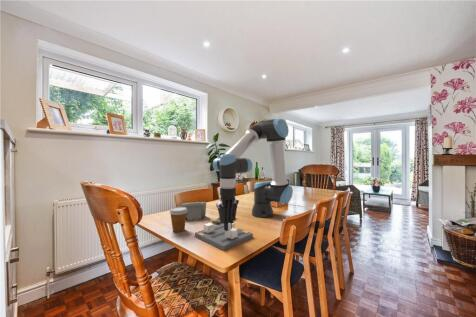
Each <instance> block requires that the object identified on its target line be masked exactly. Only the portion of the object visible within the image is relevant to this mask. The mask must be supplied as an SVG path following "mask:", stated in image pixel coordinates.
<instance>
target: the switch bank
mask: <svg viewBox="0 0 476 317" xmlns="http://www.w3.org/2000/svg"><path fill="white" fill-rule="evenodd" d="M234 228H235V229H237V230H238V237H236V238H233V239H230V238H227V237H225V231H224V224H220V225H217V224H216V225H214V231H212V232H210V233H207V232H204V229H202V230H199V231H196V232H194V238H197V239H199V240H201V241H202V242H205V243H207V244H209V245H211V246H213V247H216V248H217V249H219V250H221V251H226V250H228V249H230V248H233V247H236V246H237V245H239V244H241V243H244V242H246V241H248V240H250V239H252V238H254V233H253V232H250V231H247V230H244V229H242V228H239V227H236V226H234Z"/></svg>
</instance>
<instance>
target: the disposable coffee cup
mask: <svg viewBox="0 0 476 317" xmlns="http://www.w3.org/2000/svg"><path fill="white" fill-rule="evenodd" d="M186 213H187V208H186V207H181V206H176V207H172V208H170V210H169V214H170V218H171V219H170V220H171V226H172V232H174V233H181V232H184V231H185V228H186V220H187V218H186Z"/></svg>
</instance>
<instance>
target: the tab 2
mask: <svg viewBox="0 0 476 317" xmlns="http://www.w3.org/2000/svg"><path fill="white" fill-rule="evenodd" d="M236 237H238V230H237V229H235V228H232V229H231V237H230V239H233V238H236Z"/></svg>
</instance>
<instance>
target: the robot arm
mask: <svg viewBox="0 0 476 317" xmlns="http://www.w3.org/2000/svg"><path fill="white" fill-rule="evenodd" d="M289 131H290V130H289V126H288V123H287V122H286V120H284V119H283V118H273V119H265V120H260V121H258V122H256V123H254V124H253V125H251V126H250V127H249V128H248V129H247V130H246V131H245V132H244V133H245V134H244V135H243V136H242V137H240V139H239V140H238V141H236V143H235V144H234V145H232V146H231V147H230V149H229V150H228V151H227V152H225V153H223V154H220V155H219V157H217V158H214V159H213V161H212V168H213V170H214V171H216V172H219V187H220V188H219V195H220V199H219V202H218V203H216V204H215V207H216V208H217V210H218V212H217V213H218V215H219V216H218V218H219V217H220V222H221V223H223V224H224V230H225V237H227V238H230V237H231V229H232V223H234V221H235V220H236V218H235V217H237V212H238V211H237V210H238V204H240V203H239V202H240V200H239V199H236V195H237V188H236V186H237V174H246V173H249V172H251V171H252V170H253V162H252V160H251V159H250V158H246V157H242V156H243V155H244V154H245V153H246V152H247V150H248V149H249V148H250V147H251V146H253V144H254V143H257V142H258V141H259V140H262V139H266V143H267V144H269V155H270V157H269V158H270V166H271V168H270V169H271V178H272V180H271V181H270V180H265V181H256V182H255V183H254V185H253V186H254V187H253V191H254V192H253V193H254V194H253V198H254V199H253V206H252V210H251V215H252V216H253V217H256V218H265V219H266V218H272V217H273V216H274V210H273V207H272V203H273V202H274V203H277V204H278V203H279V204H288V203H290V201H291V199H292V197H293V193H294V192H293V191H294V190H293V187H292V185H289V184H290V183H289V181H288V180H287V177H286V175H287V174H286V165H285V164H286V163H285V150H284V142H285V141H286V138H287V137H288V136H289V133H290V132H289ZM234 224H235V223H234Z"/></svg>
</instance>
